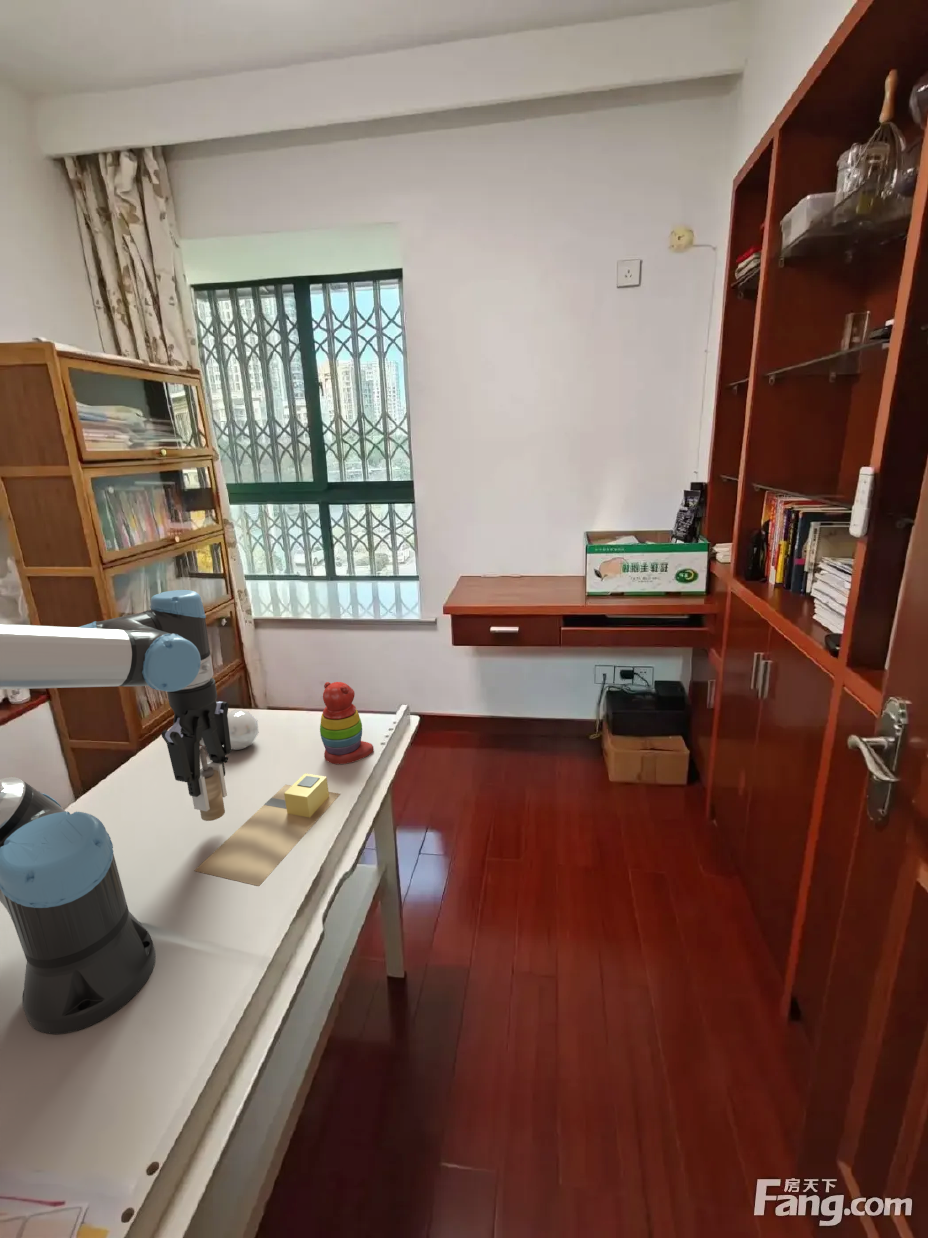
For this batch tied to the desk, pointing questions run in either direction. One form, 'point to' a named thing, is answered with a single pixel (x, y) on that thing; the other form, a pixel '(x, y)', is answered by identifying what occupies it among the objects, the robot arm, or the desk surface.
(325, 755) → the stacking bear
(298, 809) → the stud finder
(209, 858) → the board
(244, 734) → the potion bottle
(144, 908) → the desk surface
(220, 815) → the awl
